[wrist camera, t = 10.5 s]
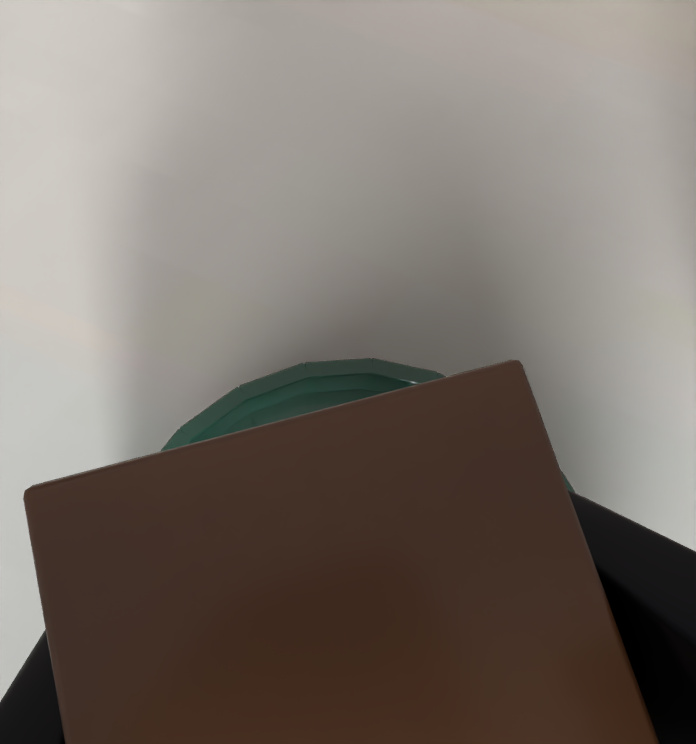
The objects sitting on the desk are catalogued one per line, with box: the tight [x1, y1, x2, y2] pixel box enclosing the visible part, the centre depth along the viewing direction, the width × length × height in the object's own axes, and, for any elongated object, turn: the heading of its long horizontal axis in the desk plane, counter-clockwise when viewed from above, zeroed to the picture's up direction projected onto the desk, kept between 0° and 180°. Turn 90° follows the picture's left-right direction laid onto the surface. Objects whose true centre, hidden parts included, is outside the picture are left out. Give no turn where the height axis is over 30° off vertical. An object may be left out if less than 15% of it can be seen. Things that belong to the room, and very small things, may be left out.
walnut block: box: [23, 360, 660, 744], centre depth 10 cm, size 5×5×10 cm
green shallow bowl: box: [160, 358, 575, 493], centre depth 19 cm, size 14×14×4 cm
